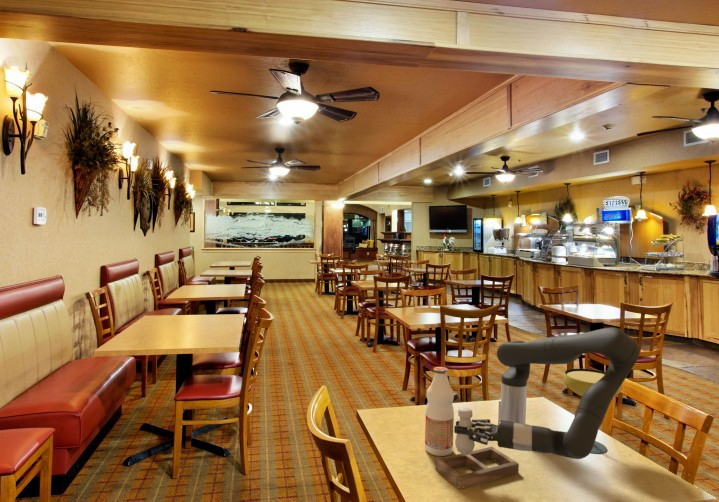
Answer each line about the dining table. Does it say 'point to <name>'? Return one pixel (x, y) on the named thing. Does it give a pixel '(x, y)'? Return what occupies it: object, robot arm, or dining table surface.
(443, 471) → the caddy
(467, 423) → the salt shaker
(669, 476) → the dining table surface
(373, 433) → the dining table surface
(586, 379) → the cocktail glass
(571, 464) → the dining table surface
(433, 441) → the fruit juice
